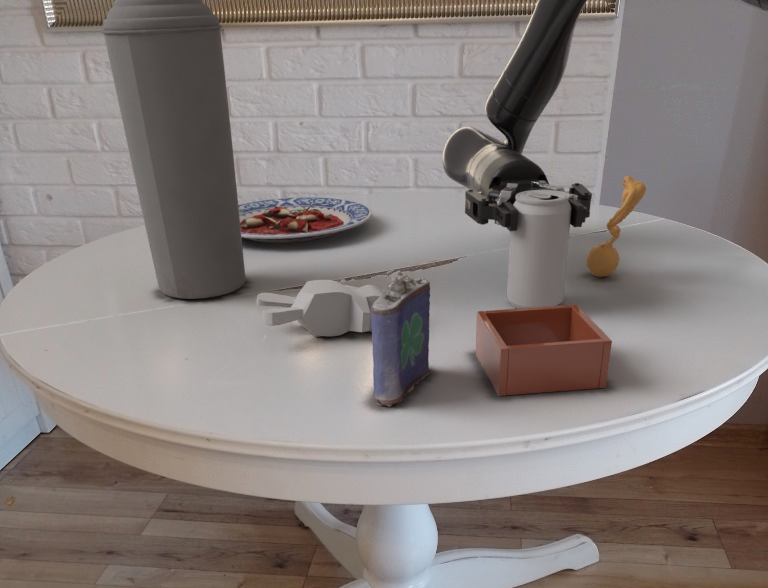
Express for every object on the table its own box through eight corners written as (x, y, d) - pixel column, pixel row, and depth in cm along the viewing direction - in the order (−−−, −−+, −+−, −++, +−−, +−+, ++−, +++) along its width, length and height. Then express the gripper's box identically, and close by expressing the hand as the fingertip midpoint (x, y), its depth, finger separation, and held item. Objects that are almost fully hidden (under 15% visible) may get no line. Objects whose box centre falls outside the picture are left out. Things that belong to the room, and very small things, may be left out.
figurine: (594, 265, 104) (605, 167, 97) (640, 270, 102) (655, 170, 95) (575, 283, 98) (586, 180, 91) (624, 289, 96) (639, 183, 89)
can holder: (572, 347, 81) (576, 304, 78) (606, 387, 72) (612, 340, 70) (475, 354, 80) (476, 311, 77) (498, 396, 72) (500, 349, 69)
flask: (393, 409, 70) (390, 288, 64) (364, 403, 71) (358, 285, 65) (434, 370, 77) (434, 258, 71) (407, 366, 78) (405, 256, 72)
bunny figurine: (410, 299, 82) (265, 298, 79) (405, 347, 85) (264, 348, 81) (388, 274, 90) (255, 272, 86) (384, 318, 93) (255, 318, 89)
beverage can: (539, 318, 87) (548, 204, 81) (494, 305, 91) (499, 195, 85) (574, 303, 91) (585, 193, 84) (530, 291, 95) (537, 185, 88)
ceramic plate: (312, 259, 111) (310, 237, 109) (174, 241, 122) (170, 220, 120) (402, 218, 129) (401, 199, 127) (274, 205, 140) (272, 187, 139)
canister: (132, 292, 101) (62, -44, 82) (210, 267, 109) (163, -44, 90) (195, 311, 94) (135, -51, 75) (274, 283, 102) (237, -50, 83)
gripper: (451, 156, 95) (481, 185, 81) (569, 150, 96) (618, 177, 82) (450, 221, 99) (479, 259, 85) (563, 214, 100) (609, 251, 86)
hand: (547, 219), depth 84 cm, fingers closed on beverage can, 6 cm apart
